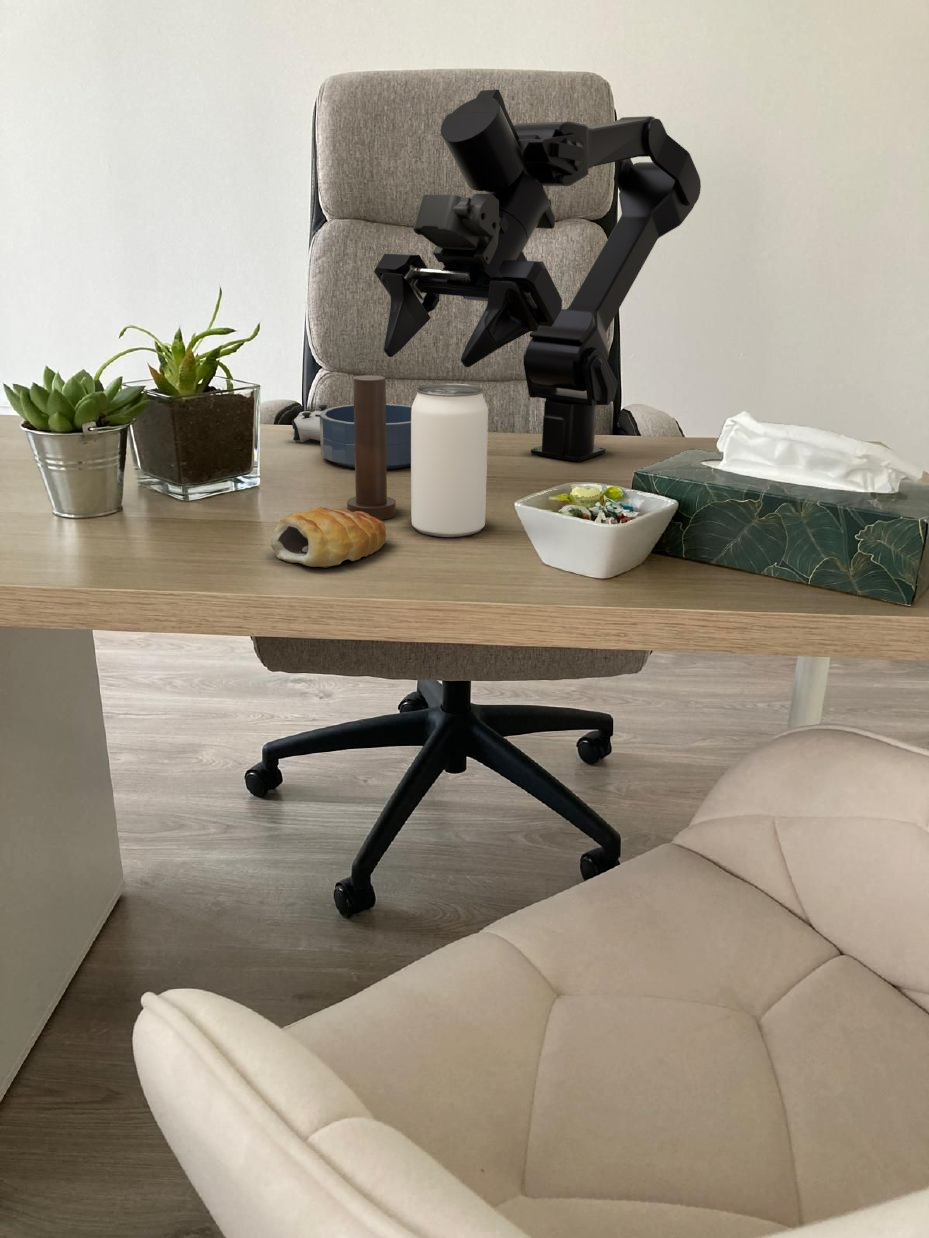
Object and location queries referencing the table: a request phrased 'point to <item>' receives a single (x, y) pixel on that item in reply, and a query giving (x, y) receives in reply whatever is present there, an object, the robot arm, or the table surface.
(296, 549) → the pastry
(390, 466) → the bowl
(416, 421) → the can
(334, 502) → the table surface
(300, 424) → the game controller
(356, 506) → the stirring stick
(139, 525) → the table surface
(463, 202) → the robot arm
